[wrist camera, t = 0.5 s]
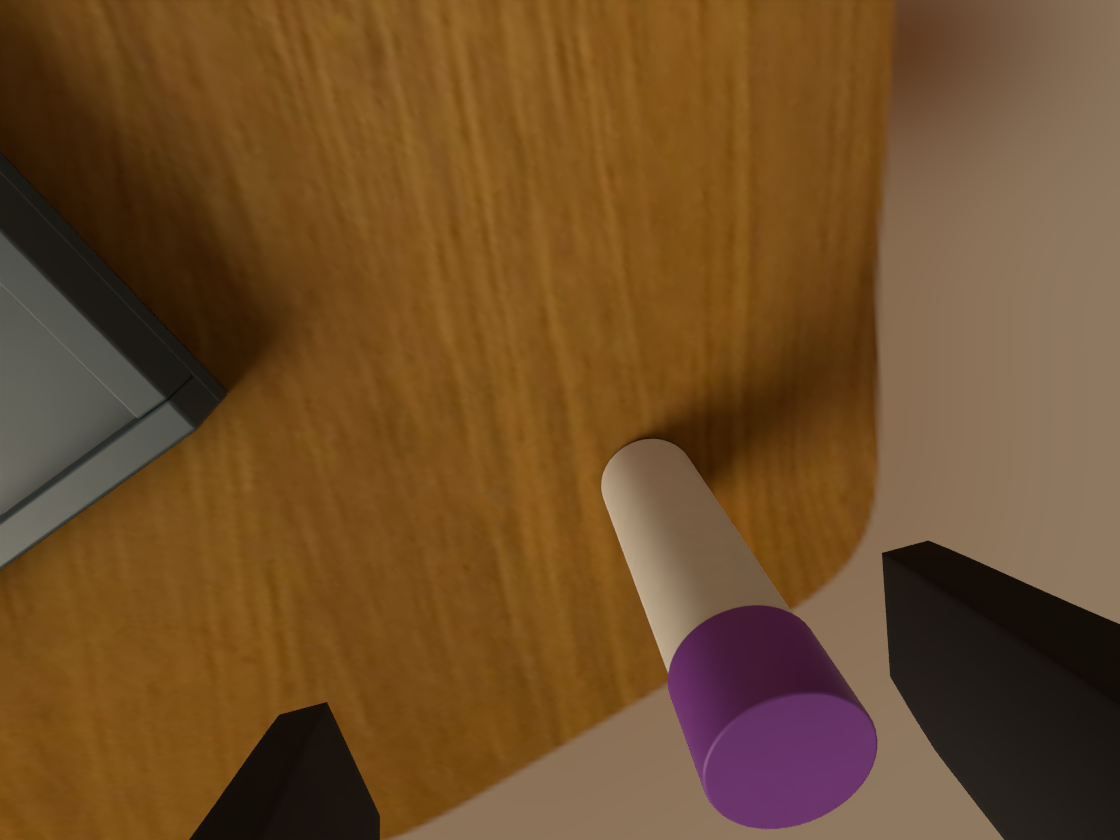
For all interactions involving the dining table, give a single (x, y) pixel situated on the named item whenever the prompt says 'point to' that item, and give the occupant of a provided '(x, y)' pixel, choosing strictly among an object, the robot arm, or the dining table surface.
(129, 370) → the desk tray
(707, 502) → the glue stick
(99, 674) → the dining table surface
